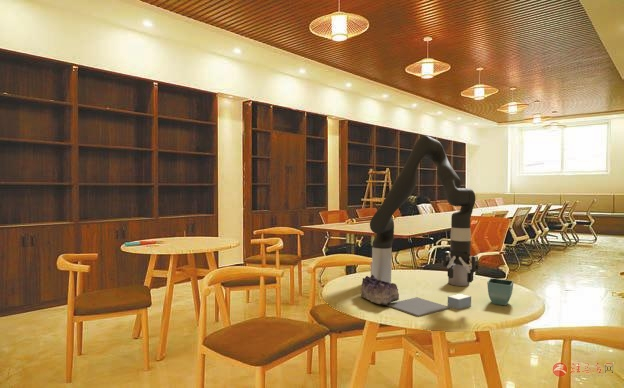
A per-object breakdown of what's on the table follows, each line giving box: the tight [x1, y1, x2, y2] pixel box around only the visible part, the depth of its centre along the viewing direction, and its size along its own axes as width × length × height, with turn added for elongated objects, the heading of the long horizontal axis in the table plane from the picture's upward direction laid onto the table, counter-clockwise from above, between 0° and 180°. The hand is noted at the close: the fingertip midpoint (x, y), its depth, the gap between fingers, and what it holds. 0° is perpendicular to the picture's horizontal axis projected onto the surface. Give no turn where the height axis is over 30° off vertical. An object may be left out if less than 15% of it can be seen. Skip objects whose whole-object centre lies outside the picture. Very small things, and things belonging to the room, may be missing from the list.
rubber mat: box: [385, 296, 451, 317], centre depth 156 cm, size 16×18×1 cm
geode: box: [360, 275, 400, 306], centre depth 164 cm, size 20×12×10 cm, turn 27°
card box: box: [447, 293, 472, 310], centre depth 158 cm, size 5×8×4 cm, turn 125°
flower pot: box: [486, 277, 514, 306], centre depth 162 cm, size 9×9×9 cm
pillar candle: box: [447, 256, 471, 287], centre depth 194 cm, size 10×10×15 cm
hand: (460, 280), depth 158 cm, fingers open, 8 cm apart
